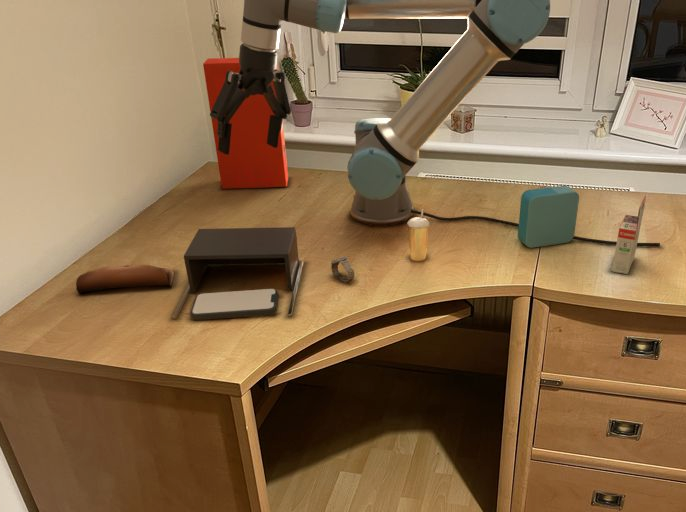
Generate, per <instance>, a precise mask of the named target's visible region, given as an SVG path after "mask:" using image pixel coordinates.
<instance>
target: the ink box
mask: <svg viewBox="0 0 686 512" xmlns="http://www.w3.org/2000/svg"><path fill="white" fill-rule="evenodd" d="M646 200H647V195H646V194H645V195H644V197H643V199H642V201H641V203H640V206H639V208H638V213H637V215H631V214H625V216H624V218H623V219H622V221H621V224H620V226H619V228H618V233H617V240H616V242H617V244H616V245H615V249H614V256H613V261H612V266H611V270H610V271H611V272H613V273H616V274H617V273H618V274H624V275H628V274H629V271H630V269H631V267H632V264H633V262H634V259H635V256H636V252H637V247H638V246H637V243H639V236H640V231H641V226H642V221H643V216H644V211H645V206H646Z"/></svg>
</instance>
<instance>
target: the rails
mask: <svg viewBox="0 0 686 512" xmlns="http://www.w3.org/2000/svg"><path fill="white" fill-rule="evenodd" d="M304 263H305V262H304V261H303V260H299V263H298V268H297V272H296V276H295V280H294V285H293V289H292V295H291V299H290V303H289V307H288V312H287V317H288V318H292V317H293V313H294V308H295V305H296V299H297V295H298V291H299V287H300V281H301V278H302V273H303V268H304V265H305V264H304ZM190 293H191V291H190V286H189V283H188V284H187V286H186V288H185V291H184V292H183V295H182V296H181V298H180V300H179V302H178V304H177V306H176V308H175V309H174V312H173V314H172V316H171V318H172V320H177V319H178V316H179V315H180V312H181V310H182V309H183V306H184V304H185V302H186V300H187V299H188V296H189V295H190Z"/></svg>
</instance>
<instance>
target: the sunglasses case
mask: <svg viewBox="0 0 686 512" xmlns="http://www.w3.org/2000/svg"><path fill="white" fill-rule="evenodd" d="M174 277H175V271H174V270H173V269H170V268H168V267H167V268H166V267H159V266H155V265H149V264H131V265H129V264H124V265H115V266H106V267H105V266H104V267H101V268H96V269H93V270H90V271H87V272H85V273H82V274H80V275H79V276H78V277H77V278H76V281H75V287H76V291H77V293H78V294H80V293H81V294H82V293H85V292H93V291H100V290H108V289H112V288H113V289H117V288H118V289H119V288H132V287H147V286H166V285H168V286H170V287H172V285H173V282H174Z"/></svg>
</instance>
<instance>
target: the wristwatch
mask: <svg viewBox="0 0 686 512" xmlns="http://www.w3.org/2000/svg"><path fill="white" fill-rule="evenodd" d="M330 264H331V265H330V267H331V268H330V269H331V272H332V276H333V277H334V278H335V279H337V280H339V281H340V282H342V283H348V282H351V281H353V279H354V278H355V277H356V276H355V275H356V273H355V270H354V268H353V267H352V265H351V263H350V261H349V258H348V256H345V255H343V256H340V257H338V258H337V257H336V258H334V259H333V260H331V261H330ZM339 264H341V266H342V267H343V268H344V269H345V271H346V273H347V275H344V274H342V273H341V272H340V271H339Z"/></svg>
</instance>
